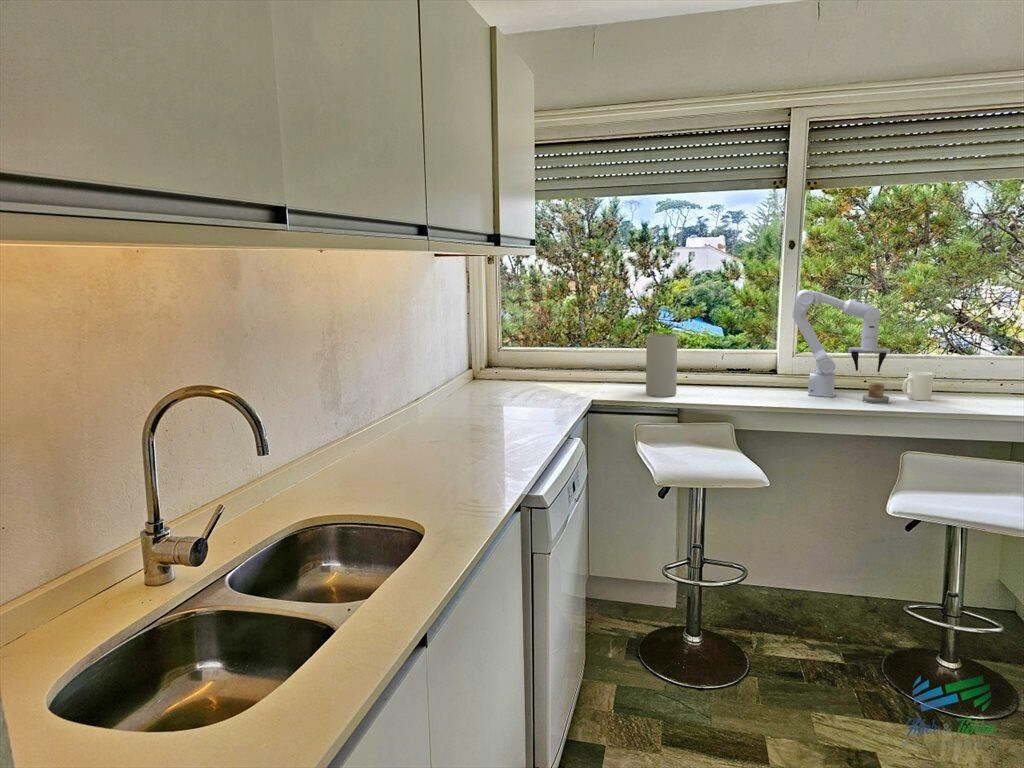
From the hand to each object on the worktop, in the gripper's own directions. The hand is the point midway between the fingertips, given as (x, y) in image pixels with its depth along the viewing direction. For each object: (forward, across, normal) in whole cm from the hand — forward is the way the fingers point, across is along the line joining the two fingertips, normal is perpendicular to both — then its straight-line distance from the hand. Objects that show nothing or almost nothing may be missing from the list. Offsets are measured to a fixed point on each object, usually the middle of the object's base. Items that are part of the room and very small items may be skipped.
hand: (867, 371), depth 270 cm
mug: (+11, +17, +2) cm, 20 cm away
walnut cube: (+8, +4, -9) cm, 13 cm away
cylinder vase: (+10, -75, -29) cm, 81 cm away
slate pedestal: (+10, +4, -9) cm, 14 cm away
